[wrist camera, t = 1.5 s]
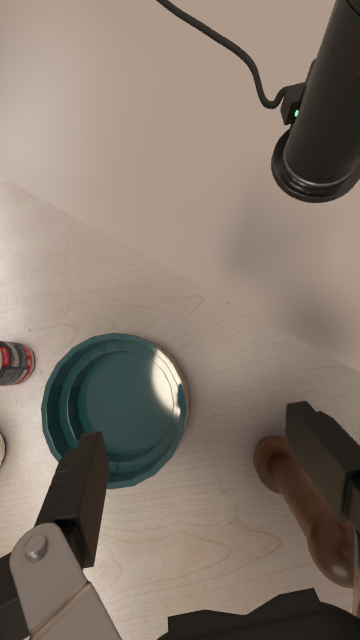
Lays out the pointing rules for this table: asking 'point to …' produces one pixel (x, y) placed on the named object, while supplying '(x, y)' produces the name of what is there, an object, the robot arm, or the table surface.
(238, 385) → the table surface
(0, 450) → the cup
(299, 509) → the pestle
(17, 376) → the pill bottle
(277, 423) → the table surface
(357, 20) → the robot arm
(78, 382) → the bowl
